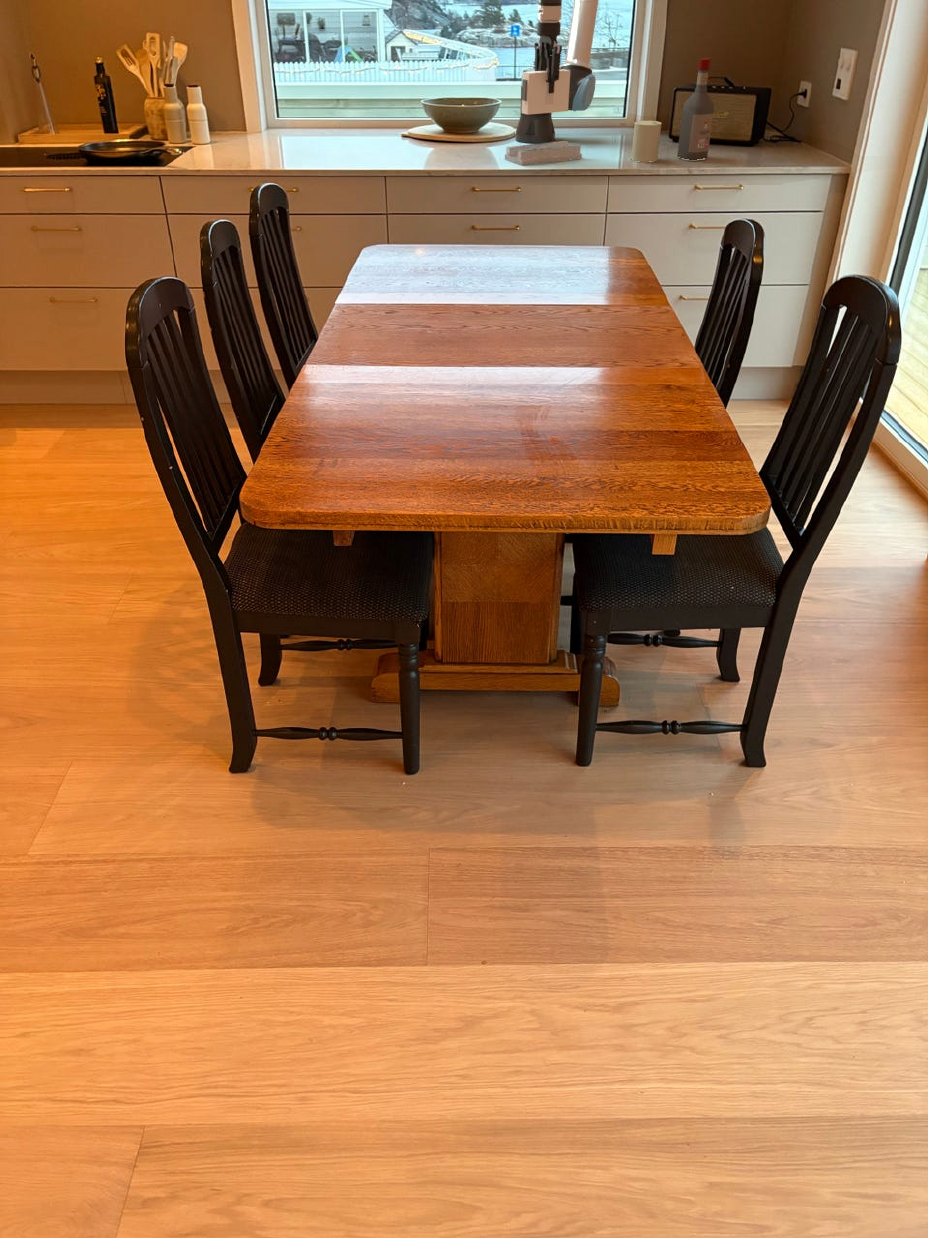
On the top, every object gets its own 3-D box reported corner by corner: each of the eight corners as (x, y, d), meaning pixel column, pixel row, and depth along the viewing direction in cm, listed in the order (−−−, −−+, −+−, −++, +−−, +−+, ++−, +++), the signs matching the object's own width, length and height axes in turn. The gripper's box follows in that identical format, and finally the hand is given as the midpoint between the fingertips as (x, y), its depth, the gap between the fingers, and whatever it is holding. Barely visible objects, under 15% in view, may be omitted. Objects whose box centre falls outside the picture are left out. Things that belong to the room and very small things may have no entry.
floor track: (563, 152, 336) (563, 140, 334) (581, 158, 328) (582, 145, 325) (504, 158, 327) (504, 146, 325) (522, 165, 319) (522, 152, 316)
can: (651, 163, 321) (655, 124, 314) (626, 160, 325) (630, 121, 318) (661, 158, 327) (666, 120, 320) (637, 156, 331) (641, 117, 324)
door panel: (561, 109, 323) (563, 69, 316) (568, 110, 320) (570, 70, 313) (520, 112, 317) (521, 71, 310) (526, 114, 314) (527, 73, 307)
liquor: (710, 159, 326) (725, 59, 308) (690, 162, 322) (704, 60, 305) (692, 154, 333) (705, 56, 315) (673, 157, 329) (685, 58, 311)
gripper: (525, 19, 308) (522, 100, 322) (553, 23, 296) (549, 107, 310) (545, 18, 311) (541, 98, 325) (573, 22, 299) (568, 105, 312)
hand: (545, 102), depth 317 cm, fingers closed on door panel, 4 cm apart
